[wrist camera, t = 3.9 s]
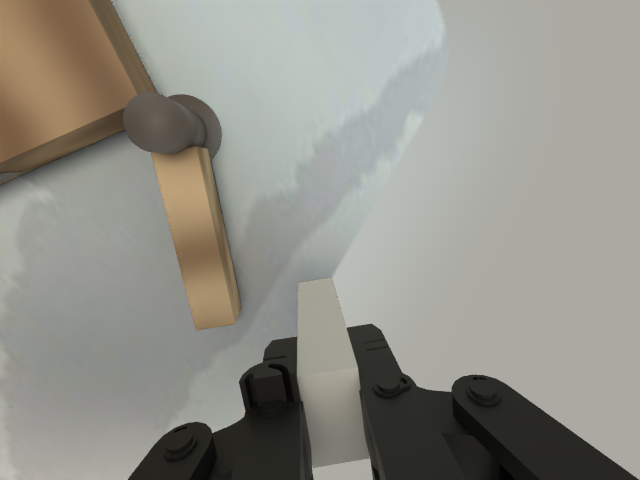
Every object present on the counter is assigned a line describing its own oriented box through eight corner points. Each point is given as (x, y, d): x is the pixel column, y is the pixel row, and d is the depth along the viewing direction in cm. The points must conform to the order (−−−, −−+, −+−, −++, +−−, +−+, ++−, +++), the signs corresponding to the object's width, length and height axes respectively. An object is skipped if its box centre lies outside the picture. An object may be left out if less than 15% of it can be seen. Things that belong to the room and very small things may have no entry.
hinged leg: (154, 110, 20) (115, 96, 16) (200, 104, 20) (174, 88, 16) (204, 313, 23) (183, 348, 19) (243, 307, 23) (231, 340, 19)
